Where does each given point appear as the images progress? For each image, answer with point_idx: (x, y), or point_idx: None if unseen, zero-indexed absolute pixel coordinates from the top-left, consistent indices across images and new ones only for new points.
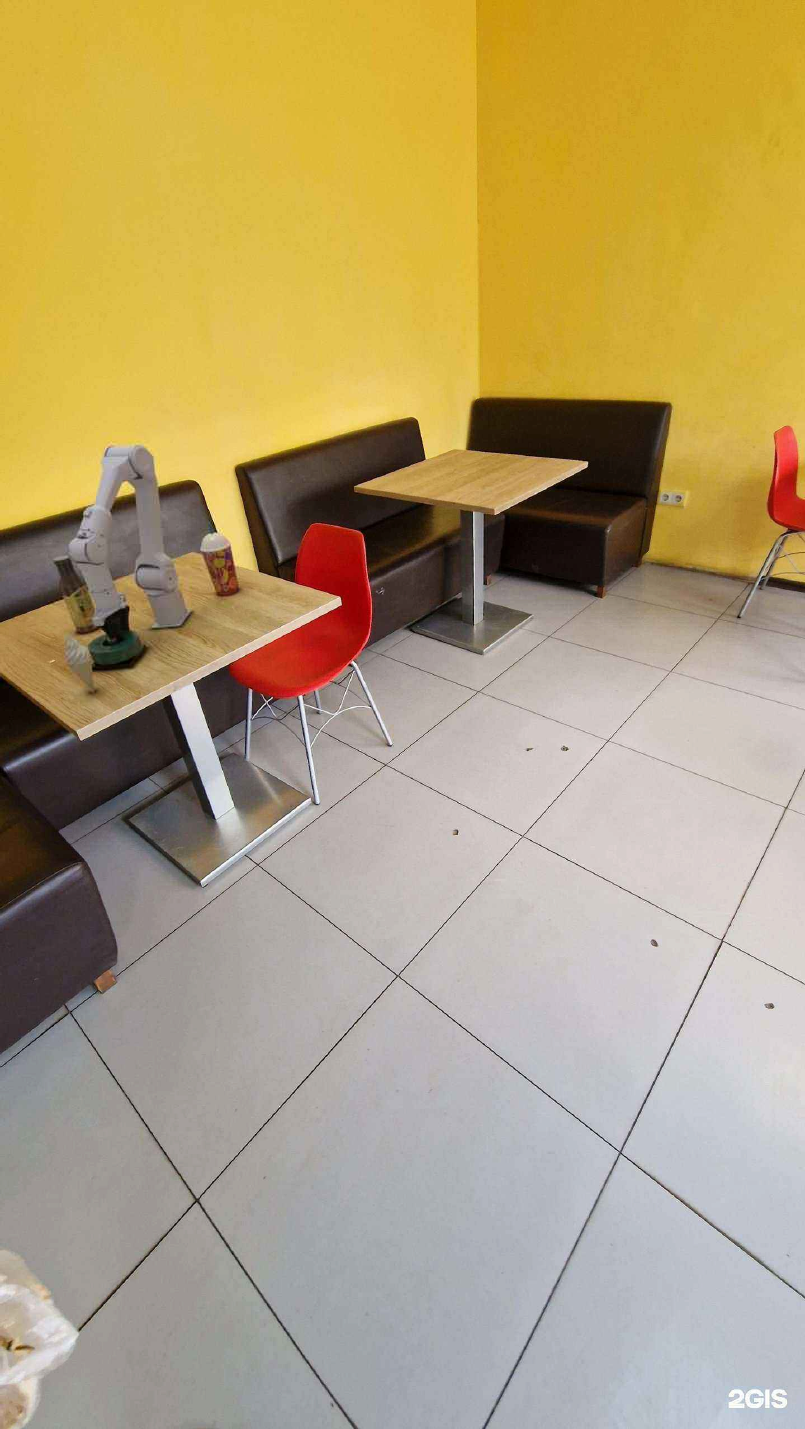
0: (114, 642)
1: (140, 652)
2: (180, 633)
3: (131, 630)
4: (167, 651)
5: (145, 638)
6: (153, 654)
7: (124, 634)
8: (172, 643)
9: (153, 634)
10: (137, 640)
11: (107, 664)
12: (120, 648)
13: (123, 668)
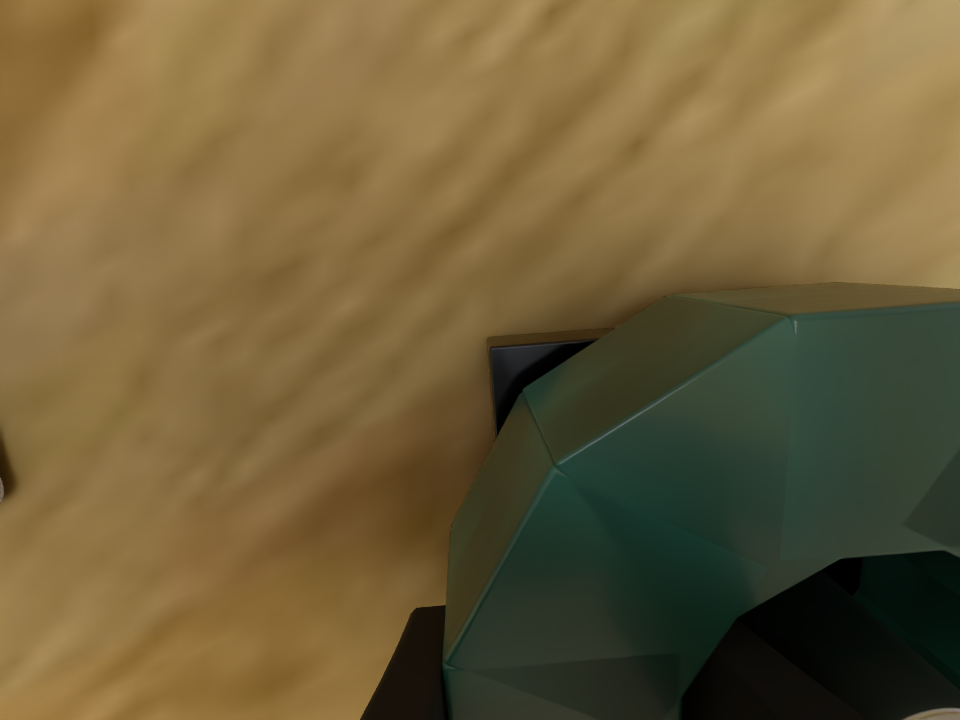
0: (941, 675)
1: None
2: (91, 39)
3: (490, 597)
4: (603, 7)
5: (244, 469)
6: (655, 179)
7: (643, 650)
8: (383, 33)
9: (142, 419)
10: (867, 301)
11: None
12: None
13: None
